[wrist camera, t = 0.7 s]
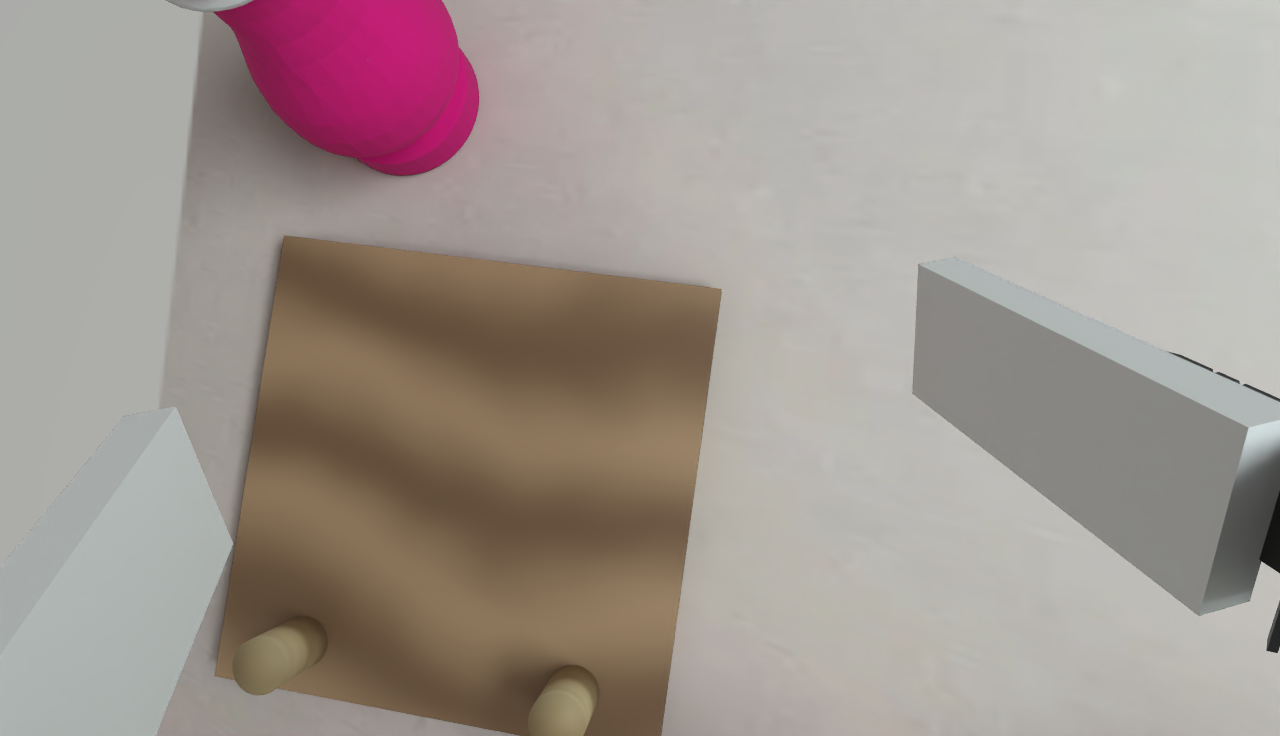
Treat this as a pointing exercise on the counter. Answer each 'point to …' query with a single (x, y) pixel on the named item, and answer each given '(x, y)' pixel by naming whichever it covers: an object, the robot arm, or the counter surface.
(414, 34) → the pepper mill
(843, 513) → the counter surface
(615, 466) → the seat board
